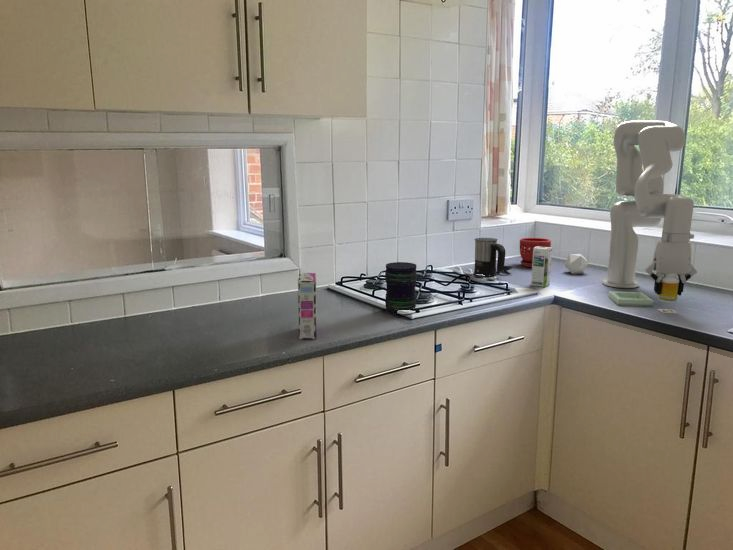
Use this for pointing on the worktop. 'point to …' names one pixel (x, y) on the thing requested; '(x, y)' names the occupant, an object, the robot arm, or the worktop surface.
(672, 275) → the supplement bottle
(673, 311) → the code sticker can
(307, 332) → the candy bar box
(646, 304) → the green tray
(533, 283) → the syrup box
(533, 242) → the plant pot
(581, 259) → the die
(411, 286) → the storage jar
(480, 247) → the milk frother
